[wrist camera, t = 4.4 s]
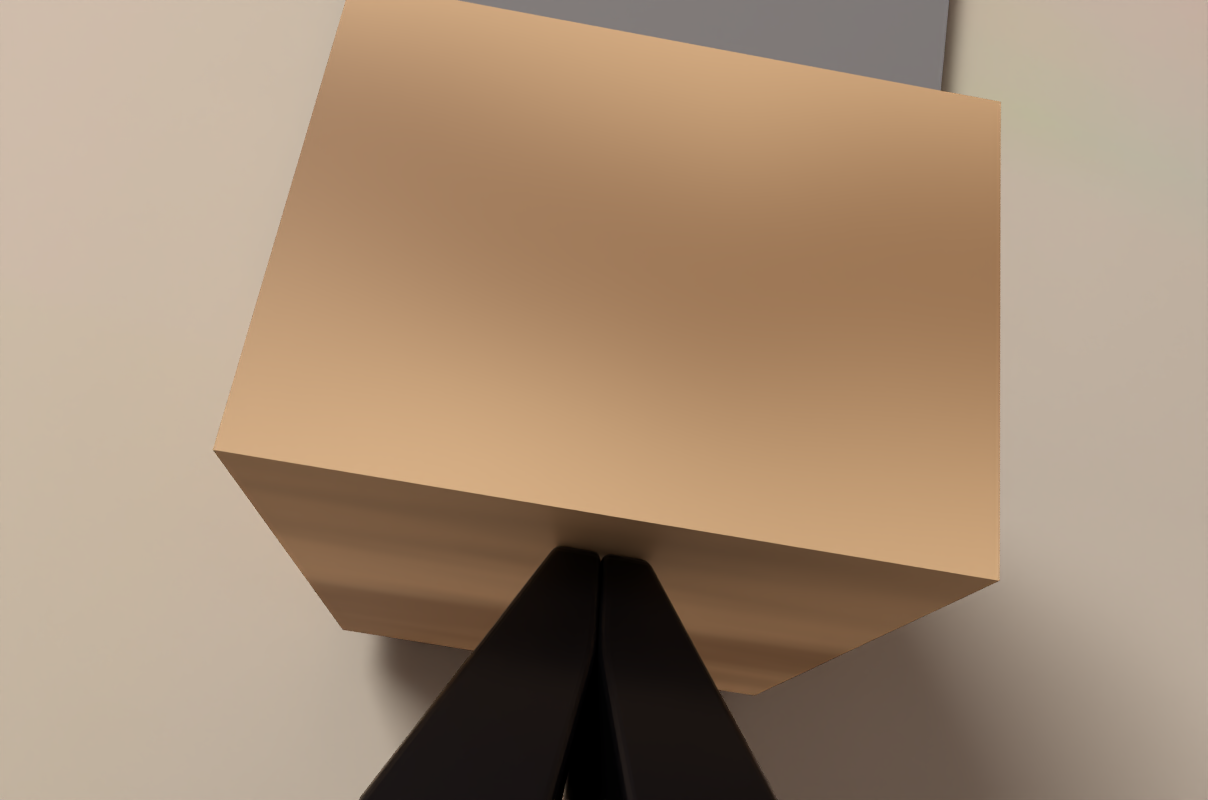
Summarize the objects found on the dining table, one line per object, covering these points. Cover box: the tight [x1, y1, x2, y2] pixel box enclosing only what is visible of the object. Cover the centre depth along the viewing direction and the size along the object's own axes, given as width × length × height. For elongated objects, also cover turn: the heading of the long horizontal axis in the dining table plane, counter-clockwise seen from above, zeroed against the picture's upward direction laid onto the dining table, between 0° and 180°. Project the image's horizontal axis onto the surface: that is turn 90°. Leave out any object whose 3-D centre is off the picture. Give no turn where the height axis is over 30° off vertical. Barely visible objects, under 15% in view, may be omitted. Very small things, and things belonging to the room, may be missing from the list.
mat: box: [458, 0, 949, 91], centre depth 18 cm, size 10×10×1 cm
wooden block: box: [213, 0, 1001, 696], centre depth 13 cm, size 4×6×8 cm
